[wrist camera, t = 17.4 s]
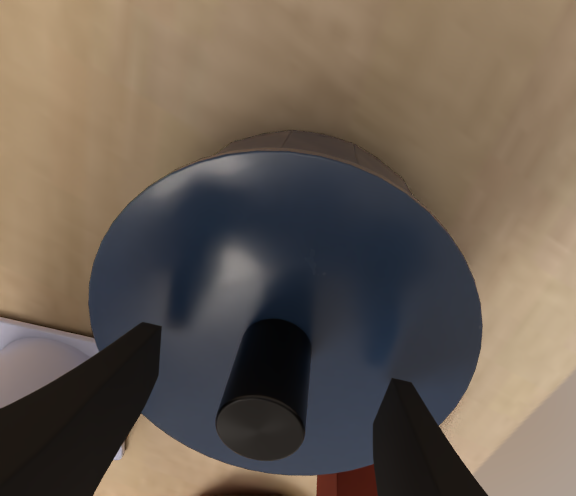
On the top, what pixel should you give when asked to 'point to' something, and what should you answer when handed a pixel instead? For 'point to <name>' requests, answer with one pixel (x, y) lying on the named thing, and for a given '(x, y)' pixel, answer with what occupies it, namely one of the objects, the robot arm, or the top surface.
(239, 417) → the pot lid
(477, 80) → the top surface
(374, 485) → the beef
